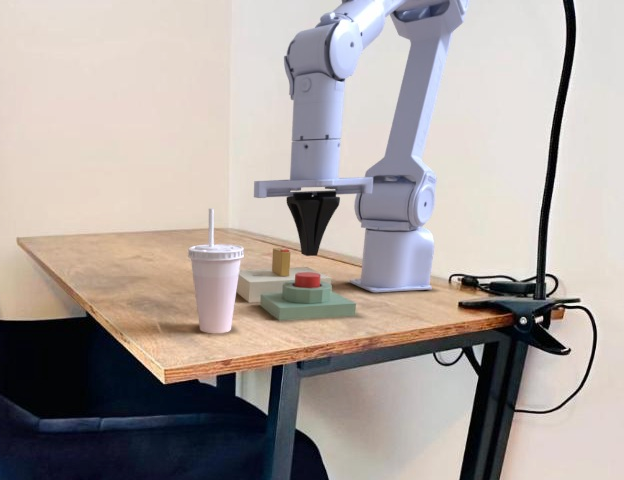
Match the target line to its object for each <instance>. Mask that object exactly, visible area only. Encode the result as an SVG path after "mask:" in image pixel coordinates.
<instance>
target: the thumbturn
mask: <svg viewBox="0 0 624 480" xmlns="http://www.w3.org/2000/svg"><path fill="white" fill-rule="evenodd" d="M271 261H272V262H271V269H272V272H274V273H276V274H278V275H279V276H289V272H290V268H291V251H290V249H288V248H282V247H272V260H271Z"/></svg>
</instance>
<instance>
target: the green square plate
mask: <svg viewBox="0 0 624 480" xmlns="http://www.w3.org/2000/svg"><path fill="white" fill-rule="evenodd" d="M259 303H260V304H259V306H260V307H261V308H262V309H264V310H265V311H266V312H267V313H269V314H270V315H271V316H272V317H274V318H275V319H276V320H277V321H291V320H293V321H294V320H310V319H324V318H327V319H328V318H340V317H342V318H343V317H354V316H356V311H357V310H356V309H357V302H355V301H353V300H350V299H349V298H347V297H344V296H343V295H341V294H339V293H337V292H335V291H333V284H332V283H331V284H329V283H327V282H321V281H320V287H317V288H300V287H295V281H290V282H285V283H284V284H283V287H282V293H269V294H261V298H260V302H259Z"/></svg>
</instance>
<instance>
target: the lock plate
mask: <svg viewBox="0 0 624 480" xmlns="http://www.w3.org/2000/svg"><path fill="white" fill-rule="evenodd" d="M301 272H313V273H318V274H320V275H321V276H320V281H321V282H327V283H329V284H331V285H332V277H331V276H329V275H326V274H325V273H323V272H320V271H318V270H315V269H313V268H311V267H309V266H302V267H290V272H289V276H279V275H278V274H276V273H274V272H272V268H262V269H261V268H259V269H244V270H243V269H242V270H241V269H239V276H238V283H237V290H236V294H238V295H239V296H241V297H242V298H243V299H244V300H245V301H246V302H247V303H260V298H261V294H269V293H282V287H283V284H284V283H285V282H290V281H295V274H296V273H301Z"/></svg>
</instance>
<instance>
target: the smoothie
mask: <svg viewBox="0 0 624 480" xmlns="http://www.w3.org/2000/svg"><path fill="white" fill-rule="evenodd" d="M214 212H215V208H208V244H199V245H193V246H190V247H189V248H188V255H187V257H188V258H189V259H190V261H191V270H192V278H193V285H194V286H193V287H194V294H195V303H196V310H197V317H198V324H199V330H200V331H201V332H203V333H209V334H222V333H223V334H224V333H227V332H230V331H231V330H232V324H233V317H234V310H235V303H236V296H237V292H236V290H237V283H238V276H239V271H240V270H241V269H240V268H241V261H242V259H243V258H244V257H245V255H244V247H243V246H242V245H238V244H237V245H236V244H228V243H226V244H225V243H215V242H214V240H215V239H214V238H215V237H214V233H215V230H214V229H215V227H214V226H215V224H214V222H215V219H214V217H215V213H214Z"/></svg>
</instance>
